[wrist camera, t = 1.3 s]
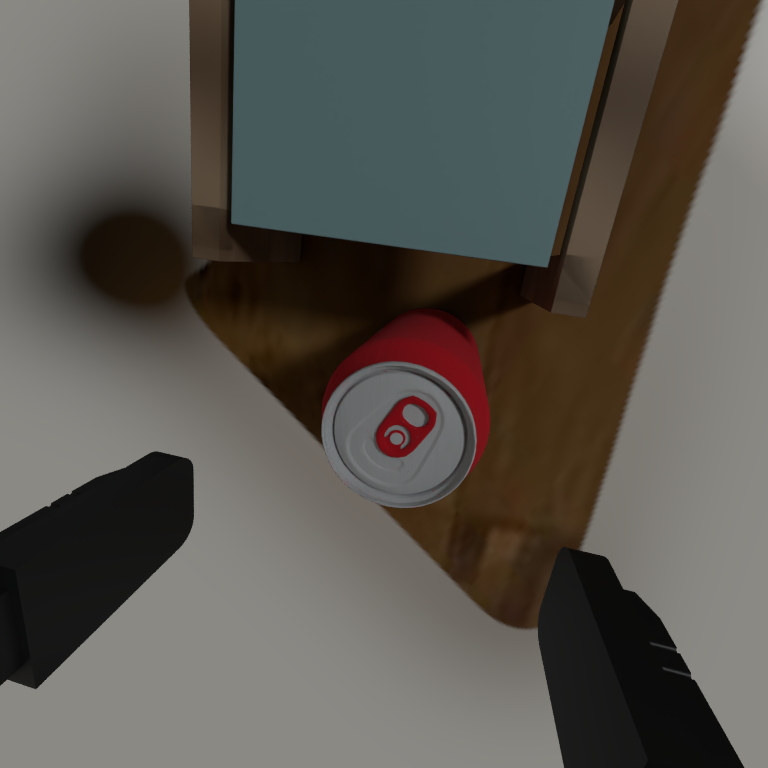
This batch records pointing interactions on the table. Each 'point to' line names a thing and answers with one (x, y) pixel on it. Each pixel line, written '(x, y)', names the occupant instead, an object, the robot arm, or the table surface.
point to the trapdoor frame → (540, 284)
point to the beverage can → (408, 411)
